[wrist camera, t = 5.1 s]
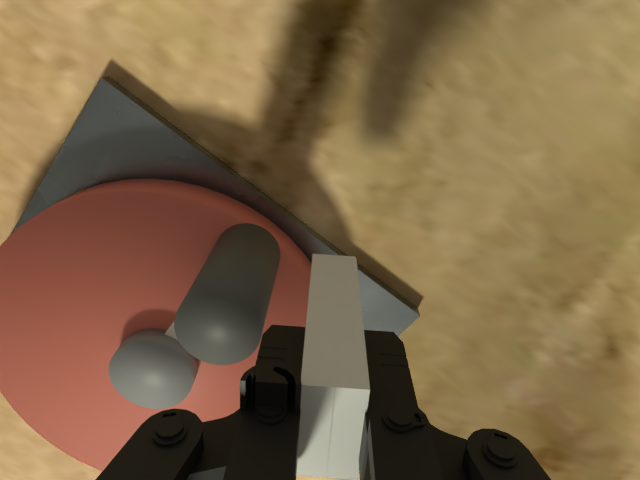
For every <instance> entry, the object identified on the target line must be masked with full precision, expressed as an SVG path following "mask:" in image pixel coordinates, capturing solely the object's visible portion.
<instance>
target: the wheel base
mask: <svg viewBox="0 0 640 480" xmlns="http://www.w3.org/2000/svg"><path fill="white" fill-rule="evenodd" d="M126 179H162V180H172V181H179V182H184V183H188V184H193V185H197V186H202V187H204V188H207V189H210V190H213V191H216V192H219V193H222V194H225V195H227V196H229V197H231V198H233V199H235V200H237V201H239V202H241V203H243V204H245V205H247V206H249V207H250V208H252V209H254V210H255V211H257V212H258V213H260V214H261V215H263V216H264V217H266V218H267V219H269V220H270V221H271V222H273V223H274V224H275V225H276V226H277V227H278V228H280V229H281V230H282V231H283V232H284V233H286V234H287V235H288V236H289V237H290V238H291V239H292V241H293V242H294V243H295V244H296V245H297V246H298V247H299V248H300V249H301V250H302V251H303V253H304V254H305V255H306V257H307V258H308V260H309V261H310V262H311V264H312V255H313V254H325V255H339V256H347V255H345V254H344V253H343V252H341V251H340V250H339V249H337V248H336V247H335V246H333V245H332V244H331V243H329V242H328V241H327V240H325V239H324V238H323V237H321V236H320V235H319V234H317V233H316V232H315V231H313V230H312V229H311V228H309V227H308V226H307V225H305V224H304V223H303V222H301V221H300V220H299V219H297V218H296V217H295V216H293V215H292V214H291V213H289V212H288V211H287V210H285V209H284V208H283V207H281V206H280V205H279V204H277V203H276V202H275V201H273V200H272V199H271V198H269V197H268V196H267V195H265V194H264V193H263V192H261V191H260V190H259V189H257V188H256V187H255V186H253V185H252V184H251V183H250V182H248V181H247V180H246V179H244V178H243V177H242V176H240V175H239V174H238V173H236V172H235V171H234V170H232V169H231V168H230V167H228V166H227V165H226V164H224V163H223V162H222V161H220V160H219V159H218V158H216V157H215V156H214V155H212V154H211V153H210V152H208V151H207V150H206V149H204V148H203V147H202V146H200V145H199V144H198V143H196V142H195V141H194V140H192V139H191V138H190V137H188V136H187V135H186V134H184V133H183V132H182V131H180V130H179V129H178V128H176V127H175V126H174V125H172V124H171V123H170V122H168V121H167V120H166V119H164V118H163V117H162V116H160V115H159V114H158V113H156V112H155V111H154V110H152V109H151V108H150V107H148V106H147V105H146V104H144V103H143V102H142V101H140V100H139V99H138V98H136V97H135V96H134V95H132V94H131V93H130V92H128V91H127V90H126V89H124V88H123V87H122V86H120V85H119V84H118V83H116V82H115V81H114V80H112V79H111V78H110V77H103V78H101V79H100V81H99V83H98V85H97V86H96V88H95V90H94V92H93V93H92V95H91V97H90V99H89V100H88V102H87V104H86V105H85V107H84V109H83V111H82V112H81V114H80V116H79V118H78V119H77V121H76V123H75V125H74V126H73V128H72V130H71V132H70V133H69V135H68V137H67V139H66V140H65V142H64V144H63V146H62V147H61V149H60V151H59V152H58V154H57V156H56V158H55V159H54V161H53V163H52V165H51V166H50V168H49V170H48V172H47V173H46V175H45V177H44V179H43V180H42V182H41V184H40V186H39V187H38V189H37V191H36V193H35V194H34V196H33V198H32V199H31V201H30V203H29V205H28V206H27V208H26V210H25V212H24V213H23V215H22V217H21V219H20V220H19V222H18V224H17V226H16V227H15V229H14V231H15V230H16V229H17V228H19V227H20V226H21V225H23V224H24V223H26V222H27V221H29V220H30V219H31V218H33V217H34V216H36V215H37V214H39V213H40V212H42V211H44V210H45V209H47V208H49V207H50V206H52V205H54V204H55V203H57V202H59V201H60V200H62V199H64V198H66V197H68V196H70V195H73V194H75V193H77V192H79V191H81V190H84V189H87V188H90V187H93V186H96V185H99V184H102V183H108V182H114V181H120V180H126ZM14 231H13V232H14ZM357 270H358V279H359V289H360V298H361V308H362V317H363V327H364V330H374V331H388V332H394V333H395V334H396V335H397V336H399V335H400V334H401V333H402V332H403V331H404V330H405V329H406V328H407V327H408V326H410V325H411V324H412V323H413V322H414V321H415V320H416V319H417V318H418V317H419V316H420V314H419V311H418V309H417V308H416V307H415V306H413V305H412V304H411V303H409V302H408V301H407V300H405V299H404V298H403V297H401V296H400V295H399V294H397V293H396V292H395V291H393V290H392V289H391V288H389V287H388V286H387V285H385V284H384V283H383V282H381V281H380V280H379V279H377V278H376V277H375V276H373V275H372V274H371V273H369V272H368V271H367V270H365V269H364V268H363V267H361V266H360V265H359V264H357Z"/></svg>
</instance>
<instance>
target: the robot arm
mask: <svg viewBox="0 0 640 480" xmlns="http://www.w3.org/2000/svg"><path fill="white" fill-rule="evenodd" d="M359 473H360V480H551V479H550V478H549V476H548V475H547V474H546V472H545V471H544V470H543V468H542V467H541V466H540V464H539V463H538V462H537V461H536V459H535V458H534V457H533V455H532V454H531V453H530V451H529V450H528V449H527V448H526V447H525V446H524V445H523V444H522V443H521V442H520V441H519V440H518V439H516V438H515V437H513V436H511V435H510V434H508V433H506V432H502V431H499V430H496V429H480V430H477V431H474V432H473V433H472V434H471V435H470V437H469V438H468V440H466V439H463V438H460V437H457V436H454V435H451V434H448V433H446V432H443V431H441V430H439V429H437V428H436V427H434V426H433V425H431V424H430V423H429V421H428V419H427V417H426V415H425V414H424V413H423V412H422V411H421V410H420V409H419V408H418V405H417V400H416V396H415V392H414V387H413V383H412V379H411V374H410V370H409V368H408V361H407V358H406V353H405V348H404V344H403V342H402V341H401V340H400V339H399V337H398V336H397V335H396V334H395V333H394V332H388V331H374V330H364V327H363V317H362V308H361V298H360V289H359V279H358V270H357V260H356V257H354V256H339V255H325V254H313V255H312V265H311V276H310V287H309V297H308V308H307V319H306V327H300V326H285V325H271V326H270V327H269V328H268V329H267V330H266V331H265V333H264V334H263V335H262V339H261V343H260V348H259V351H258V356H257V360H256V364H255V366H253V367H251V368H250V369H249V370H247V371H246V372H245V373H244V374H243V376H242V377H241V379H240V409H238V410H237V411H236V412H234V413H233V414H231V415H228V416H226V417H223V418H220V419H216V420H210V421H205V422H202V421H201V420H200V419H199V417H198V416H197V415H196V414H195V413H193V412H190V411H188V410H185V409H169V410H164V411H161V412H159V413H156V414H154V415H152V416H150V417H149V418H148V419H147V420H146V421H145V422H144V423H142V424H141V426H140V427H139V428H138V429H137V430H136V432H135V433H134V434H133V435H132V436H131V438H130V439H129V440H128V441H127V442H126V444H125V445H124V446H123V447H122V448H121V450H120V451H119V452H118V453H117V455H116V456H115V457H114V458H113V459H112V461H111V462H110V463H109V464H108V465H107V467H106V468H105V469H104V470H103V471H102V473H101V474H100V475H99V476H98V477H97V479H96V480H296V476H309V477H324V478H338V479H353V480H358V474H359Z"/></svg>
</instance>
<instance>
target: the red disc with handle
mask: <svg viewBox="0 0 640 480" xmlns="http://www.w3.org/2000/svg"><path fill="white" fill-rule="evenodd" d="M311 265H312V264H311V262H310V261H309V260H308V258H307V257H306V255H305V254H304V253H303V251H302V250H301V249H300V248H299V247H298V246H297V245H296V244H295V243H294V242H293V241H292V239H291V238H290V237H289V236H288V235H287V234H286V233H284V232H283V231H282V230H281V229H280V228H278V227H277V226H276V225H275V224H274V223H273V222H271V221H270V220H269V219H267V218H266V217H264V216H263V215H261V214H260V213H258V212H257V211H255V210H254V209H252V208H250V207H249V206H247V205H245V204H243V203H241V202H239V201H237V200H235V199H233V198H231V197H229V196H227V195H225V194H222V193H219V192H216V191H213V190H210V189H207V188H204V187H202V186H197V185H193V184H188V183H184V182H179V181H172V180H162V179H126V180H120V181H114V182H108V183H102V184H99V185H96V186H93V187H90V188H87V189H84V190H81V191H79V192H77V193H75V194H73V195H70V196H68V197H66V198H64V199H62V200H60V201H59V202H57V203H55V204H54V205H52V206H50V207H49V208H47V209H45V210H44V211H42V212H40V213H39V214H37V215H36V216H34V217H33V218H31V219H30V220H29V221H27V222H26V223H24V224H23V225H21V226H20V227H19V228H17V229H16V230H15V231H14V232H13V233H12V234H11V235H10V236H9V237H8V238H7V239H6V240H5V241H4V242H3V244H2V245H1V247H0V391H1V393H2V394H3V396H4V397H5V398H6V400H7V401H8V402H9V404H10V405H11V406H12V408H13V409H14V410H15V411H16V412H17V413H18V414H19V415H20V416H21V418H22V419H23V420H24V421H25V422H26V423H27V424H28V425H29V426H30V427H32V428H33V429H34V430H35V431H36V432H37V433H38V434H40V435H41V436H42V437H43V438H44V439H46V440H47V441H49V442H50V443H51V444H53V445H54V446H56V447H57V448H58V449H60V450H61V451H63V452H65V453H67V454H68V455H70V456H72V457H73V458H75V459H77V460H79V461H81V462H83V463H85V464H87V465H89V466H92V467H94V468H96V469H98V470H101V471H103V470H104V469H105V468H106V467H107V465H108V464H109V463H110V462H111V461H112V459H113V458H114V457H115V456H116V455H117V453H118V452H119V451H120V450H121V448H122V447H123V446H124V445H125V444H126V442H127V441H128V440H129V439H130V438H131V436H132V435H133V434H134V433H135V432H136V430H137V429H138V428H139V427H140V426H141V424H142V423H144V422H145V421H146V420H147V419H148V418H149V417H150V416H152V415H154V414H156V413H159V412H161V411H164V410H169V409H185V410H188V411H190V412H193V413H195V414H196V415H197V416H198V417H199V419H200V420H201V421H202V422H205V421H210V420H216V419H220V418H223V417H226V416H228V415H231V414H233V413H234V412H236V411H237V410H238V409H240V379H241V377H242V376H243V374H244V373H245V372H246V371H247V370H249V369H250V368H251V367H253V366H255V364H256V360H257V356H258V351H259V348H260V343H261V339H262V335H263V334H264V333H265V331H266V330H267V329H268V328H269V327H270V326H271V325H285V326H300V327H306V319H307V308H308V297H309V287H310V276H311Z"/></svg>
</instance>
